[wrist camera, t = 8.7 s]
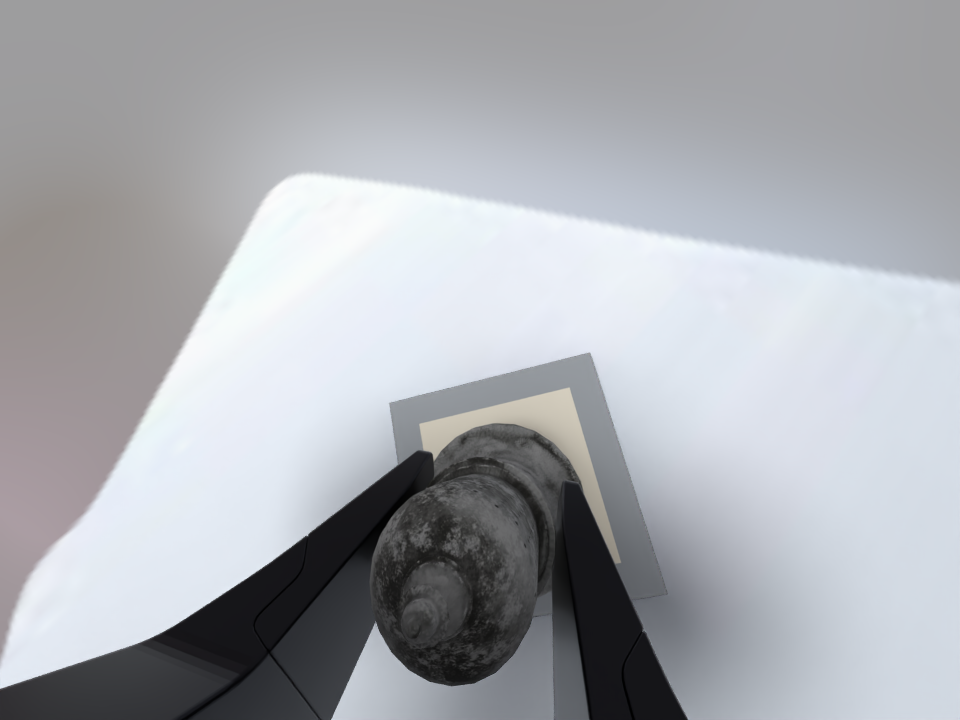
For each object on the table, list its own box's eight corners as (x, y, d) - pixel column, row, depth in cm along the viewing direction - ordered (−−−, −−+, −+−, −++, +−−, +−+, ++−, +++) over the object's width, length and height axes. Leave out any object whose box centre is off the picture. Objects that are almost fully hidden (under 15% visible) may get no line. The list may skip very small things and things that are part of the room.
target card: (662, 588, 15) (668, 595, 14) (427, 629, 16) (422, 637, 16) (588, 355, 18) (590, 351, 17) (393, 404, 19) (388, 402, 19)
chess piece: (568, 423, 16) (635, 355, 4) (587, 567, 14) (773, 1079, 3) (444, 433, 17) (221, 399, 5) (449, 569, 15) (146, 959, 4)
